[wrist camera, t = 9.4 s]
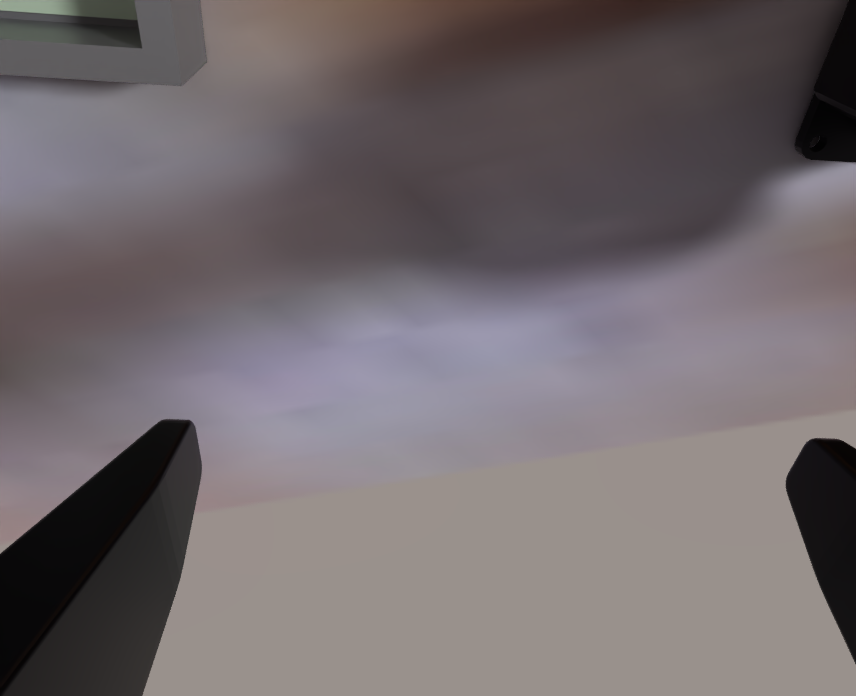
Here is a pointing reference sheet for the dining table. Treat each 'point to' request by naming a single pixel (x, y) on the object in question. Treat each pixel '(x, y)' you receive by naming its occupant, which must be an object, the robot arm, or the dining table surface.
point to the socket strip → (103, 40)
